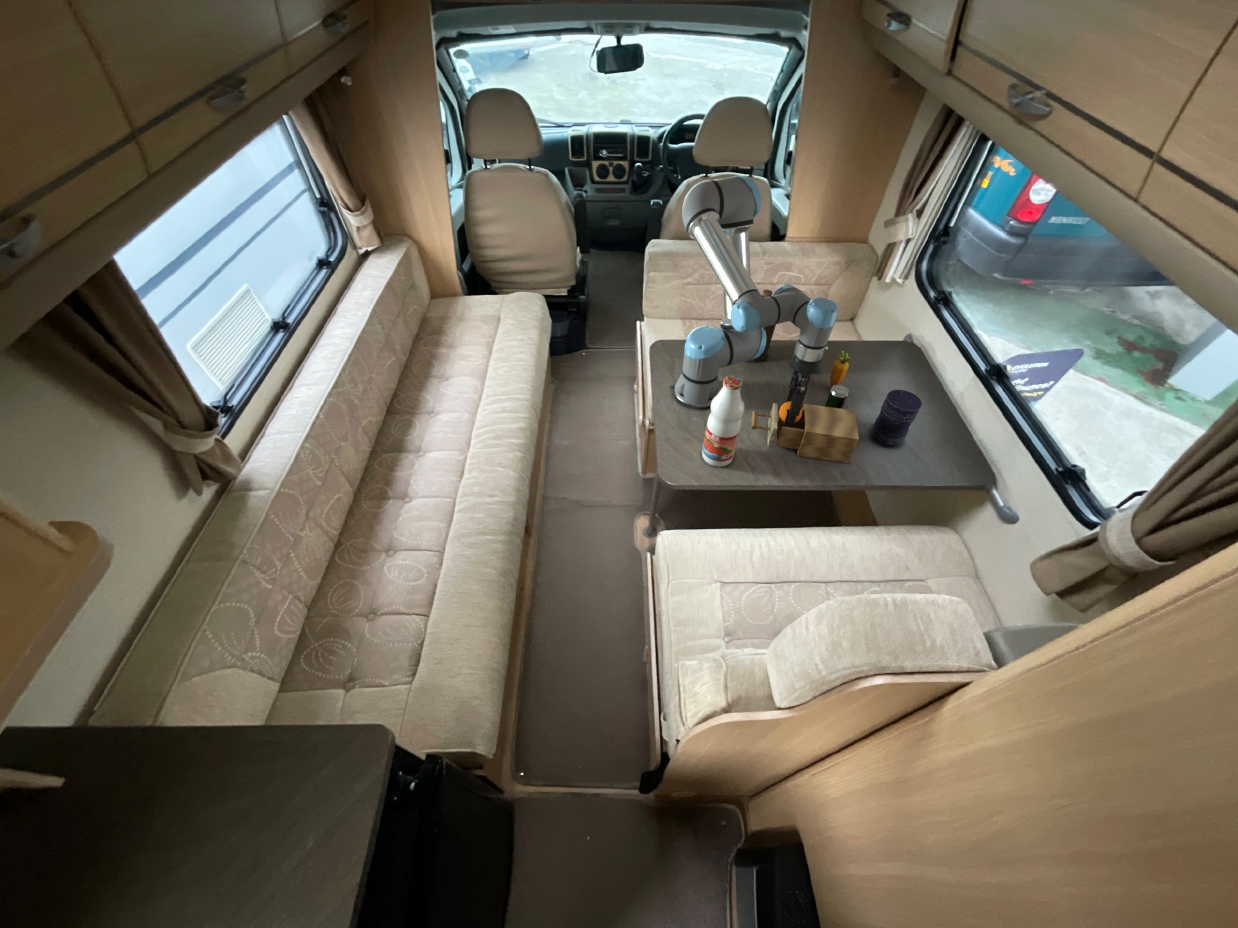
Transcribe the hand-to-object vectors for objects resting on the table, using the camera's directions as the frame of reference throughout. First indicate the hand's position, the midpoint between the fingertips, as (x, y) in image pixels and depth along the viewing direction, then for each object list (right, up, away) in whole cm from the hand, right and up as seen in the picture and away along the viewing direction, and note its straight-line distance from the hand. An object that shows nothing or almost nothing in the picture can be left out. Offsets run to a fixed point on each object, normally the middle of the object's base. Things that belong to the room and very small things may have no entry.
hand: (787, 419), depth 166 cm
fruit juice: (-21, -11, 0) cm, 24 cm away
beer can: (+17, +1, +13) cm, 21 cm away
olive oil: (-1, +27, +37) cm, 46 cm away
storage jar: (+33, -5, +7) cm, 34 cm away
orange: (0, +2, -2) cm, 3 cm away
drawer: (-1, -5, +5) cm, 7 cm away
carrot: (+22, +12, +23) cm, 35 cm away
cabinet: (+12, -7, +4) cm, 14 cm away
